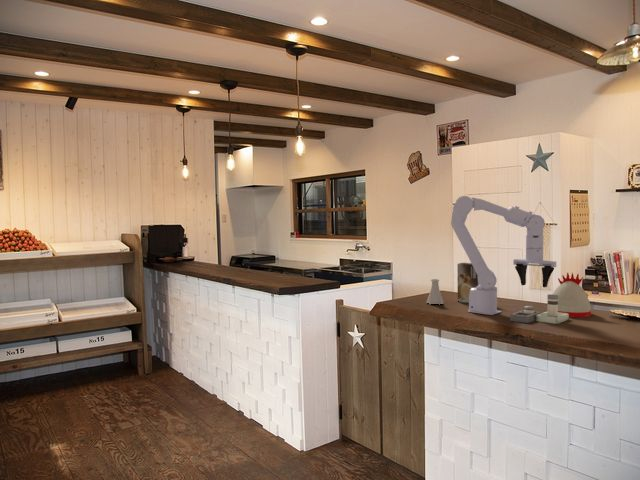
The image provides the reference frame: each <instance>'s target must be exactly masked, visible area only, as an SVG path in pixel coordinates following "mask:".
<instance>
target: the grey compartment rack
mask: <svg viewBox="0 0 640 480" xmlns="http://www.w3.org/2000/svg"><path fill="white" fill-rule="evenodd" d="M541 313H542V311H536V310H535V306H533V305H524V306H523V309H522V310H519V311H516V312H513V313H510V314H509V321H511V322H518V323H524V324H529V323H532V322H535V321H536V315H538V314H541Z"/></svg>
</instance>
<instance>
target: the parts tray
mask: <svg viewBox="0 0 640 480" xmlns="http://www.w3.org/2000/svg"><path fill="white" fill-rule="evenodd" d="M569 319H570V317H569V314H567V313H559V312H558V317H549V316H547V311H545V312H541V314H538V315H536V320H535V321H536V322H540V323H548V324H554V325H555V324H556V325H559V324H561V323H563V322H566V321H568V320H569Z"/></svg>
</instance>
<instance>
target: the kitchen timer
mask: <svg viewBox="0 0 640 480" xmlns="http://www.w3.org/2000/svg"><path fill="white" fill-rule="evenodd" d="M579 274H580V273H577V275H576V276H574V273H573V272H571V276H570V275H569V272H566V277H565V275H564V274H563V275H562V280H561V279H560V278H559V277H558V278H557V280H558V283H559V285H558V286H557V287H556V289H554V290H553V292H552V295H558V312H559V313H567V314H569V318H586V317H591V315H592V307H591V303H590V299H589V294H588V293H587V292H586V291H585V290H584V288H583V287H582V286H581V285H580V284H581V282H582V281H583V279H584V277H583V276H582V277H581V278H579V277H580V276H579Z"/></svg>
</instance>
